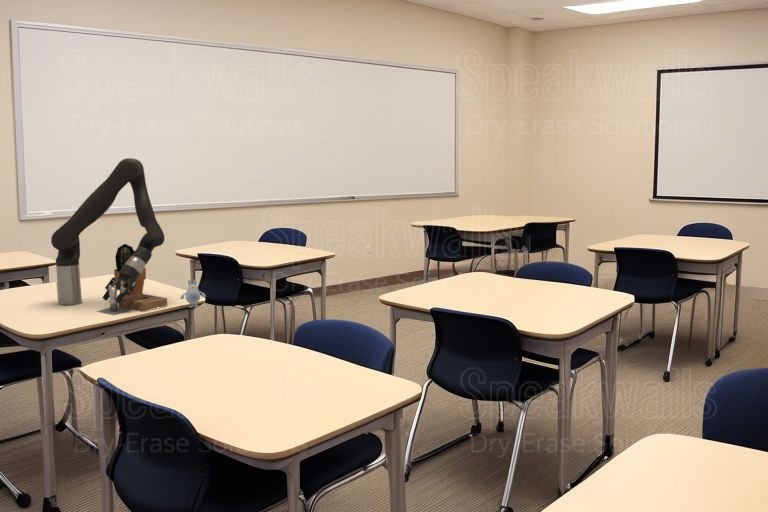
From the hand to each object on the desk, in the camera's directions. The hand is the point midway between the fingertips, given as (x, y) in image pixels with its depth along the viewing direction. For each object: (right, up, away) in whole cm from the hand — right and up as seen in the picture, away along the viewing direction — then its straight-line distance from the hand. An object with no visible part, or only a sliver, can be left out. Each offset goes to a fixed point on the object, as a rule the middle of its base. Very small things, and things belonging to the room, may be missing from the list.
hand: (110, 300), depth 284 cm
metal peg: (+1, -4, +2) cm, 5 cm away
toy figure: (+31, -4, +10) cm, 33 cm away
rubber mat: (+1, -5, +2) cm, 5 cm away
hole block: (+10, -4, +10) cm, 15 cm away
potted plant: (-2, -1, +30) cm, 30 cm away
